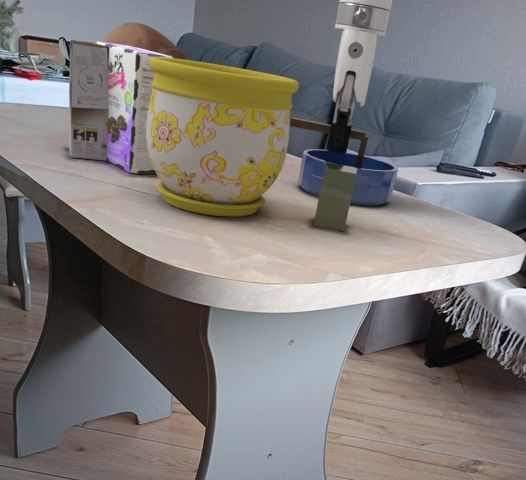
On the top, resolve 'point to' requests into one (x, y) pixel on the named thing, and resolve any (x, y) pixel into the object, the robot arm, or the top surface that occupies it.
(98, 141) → the coffee box
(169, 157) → the flowerpot
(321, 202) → the olive green upright block
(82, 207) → the top surface
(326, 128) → the wooden gallows stand
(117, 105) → the candy box
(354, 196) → the bowl
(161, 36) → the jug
